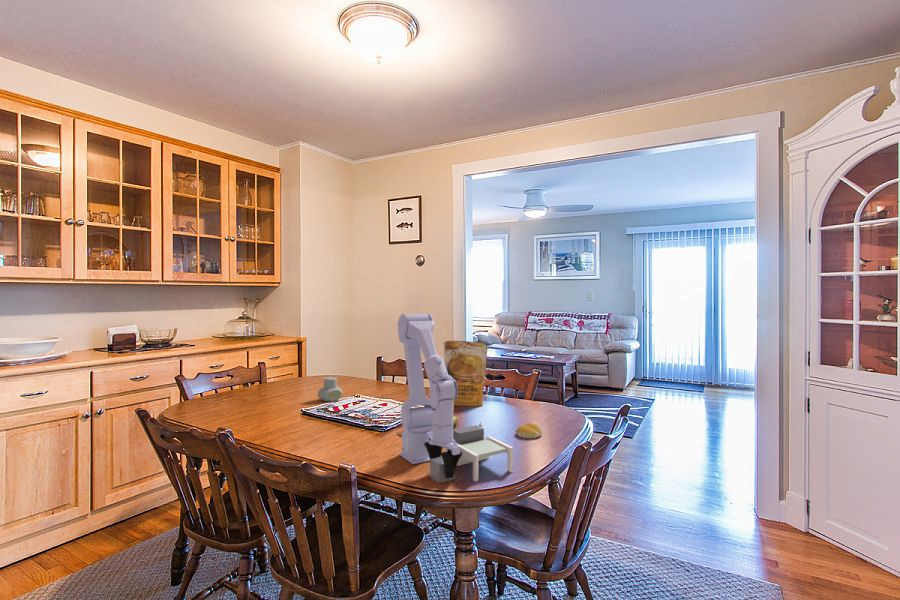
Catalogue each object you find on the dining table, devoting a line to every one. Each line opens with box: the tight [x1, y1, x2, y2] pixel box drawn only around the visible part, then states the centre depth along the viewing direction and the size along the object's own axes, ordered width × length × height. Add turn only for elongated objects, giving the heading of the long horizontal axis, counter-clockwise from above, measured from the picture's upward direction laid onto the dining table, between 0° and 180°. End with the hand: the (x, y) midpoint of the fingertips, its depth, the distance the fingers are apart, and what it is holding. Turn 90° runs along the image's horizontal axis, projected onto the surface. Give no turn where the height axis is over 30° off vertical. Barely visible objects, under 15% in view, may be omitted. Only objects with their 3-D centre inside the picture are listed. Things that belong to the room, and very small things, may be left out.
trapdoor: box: [453, 425, 506, 458], centre depth 136 cm, size 14×10×4 cm
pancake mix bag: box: [443, 340, 488, 408], centre depth 205 cm, size 7×19×28 cm, turn 81°
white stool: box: [445, 435, 514, 482], centre depth 136 cm, size 16×13×7 cm
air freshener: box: [317, 376, 344, 403], centre depth 211 cm, size 11×8×10 cm
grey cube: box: [429, 456, 456, 484], centre depth 128 cm, size 5×5×5 cm
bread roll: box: [515, 422, 543, 439], centre depth 165 cm, size 8×9×4 cm
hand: (442, 472), depth 128 cm, fingers open, 7 cm apart
